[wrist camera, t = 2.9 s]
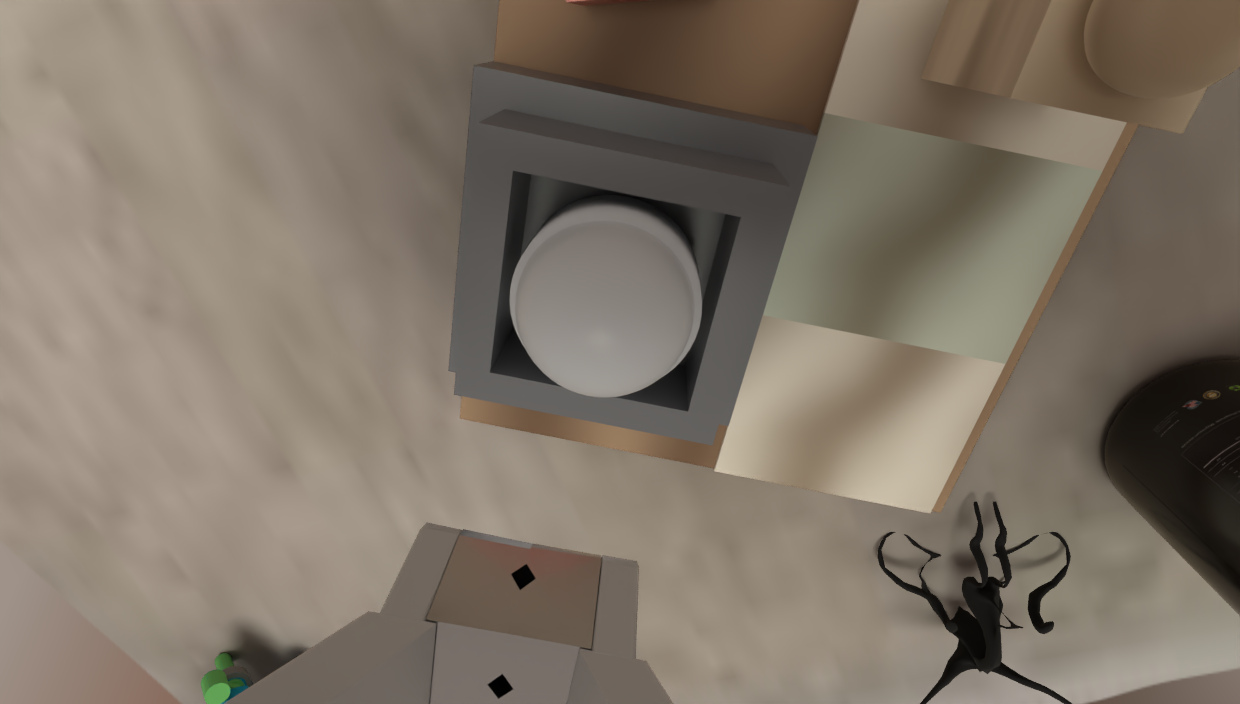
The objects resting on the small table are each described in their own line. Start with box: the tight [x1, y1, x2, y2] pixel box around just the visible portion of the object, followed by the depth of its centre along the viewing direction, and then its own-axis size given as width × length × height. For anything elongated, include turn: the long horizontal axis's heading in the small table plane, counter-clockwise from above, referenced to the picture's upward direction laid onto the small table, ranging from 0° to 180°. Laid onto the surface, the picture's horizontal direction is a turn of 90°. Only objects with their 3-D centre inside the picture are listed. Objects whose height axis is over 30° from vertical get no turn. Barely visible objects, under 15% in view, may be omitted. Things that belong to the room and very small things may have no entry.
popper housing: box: [449, 61, 818, 445], centre depth 21 cm, size 10×10×6 cm
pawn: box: [921, 0, 1240, 134], centre depth 16 cm, size 4×4×8 cm
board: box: [460, 0, 1138, 513], centre depth 23 cm, size 20×21×1 cm
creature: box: [878, 502, 1072, 704], centre depth 27 cm, size 8×5×8 cm
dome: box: [510, 195, 702, 397], centre depth 18 cm, size 5×5×5 cm
